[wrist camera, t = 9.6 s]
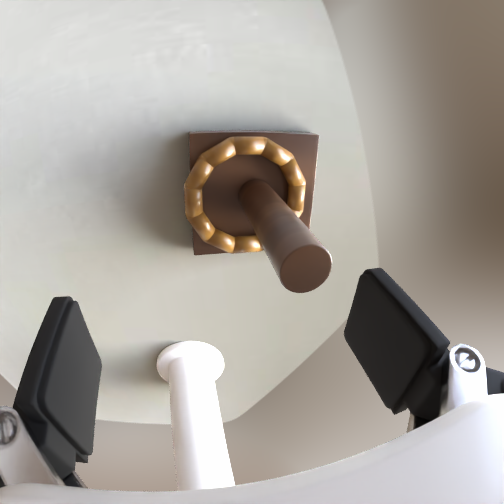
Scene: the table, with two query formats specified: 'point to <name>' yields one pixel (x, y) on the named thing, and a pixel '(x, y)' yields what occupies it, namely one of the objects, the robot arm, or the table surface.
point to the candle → (196, 415)
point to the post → (264, 205)
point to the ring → (215, 158)
